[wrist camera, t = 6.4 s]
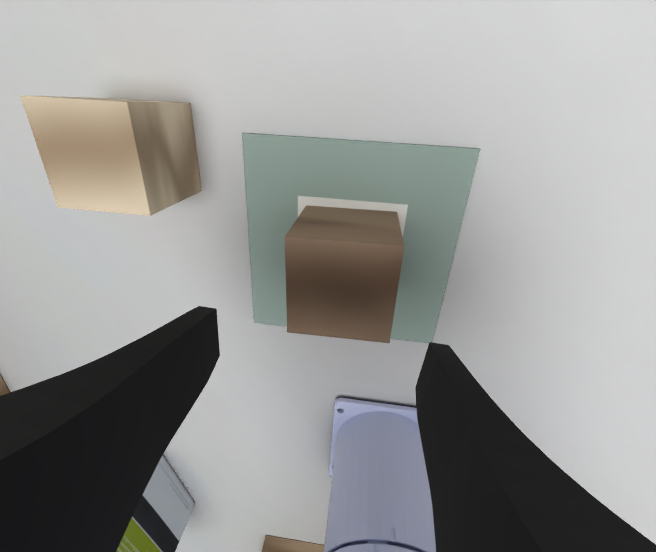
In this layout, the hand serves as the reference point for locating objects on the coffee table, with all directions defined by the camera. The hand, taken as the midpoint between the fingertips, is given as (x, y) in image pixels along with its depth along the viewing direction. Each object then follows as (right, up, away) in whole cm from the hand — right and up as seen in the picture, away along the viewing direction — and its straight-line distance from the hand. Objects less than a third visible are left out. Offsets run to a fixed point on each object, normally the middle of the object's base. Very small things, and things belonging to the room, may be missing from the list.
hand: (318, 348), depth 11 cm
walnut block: (+2, +4, +8) cm, 9 cm away
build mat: (+2, +4, +8) cm, 9 cm away
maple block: (-9, +10, +7) cm, 15 cm away
